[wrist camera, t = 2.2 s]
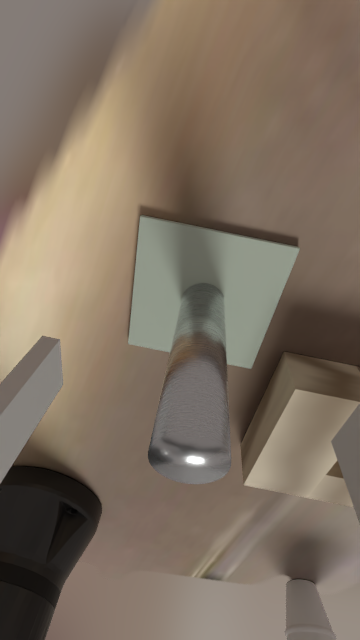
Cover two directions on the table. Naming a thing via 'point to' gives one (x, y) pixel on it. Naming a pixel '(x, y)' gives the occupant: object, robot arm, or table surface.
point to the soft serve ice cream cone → (305, 613)
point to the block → (301, 429)
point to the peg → (195, 394)
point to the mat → (206, 267)
